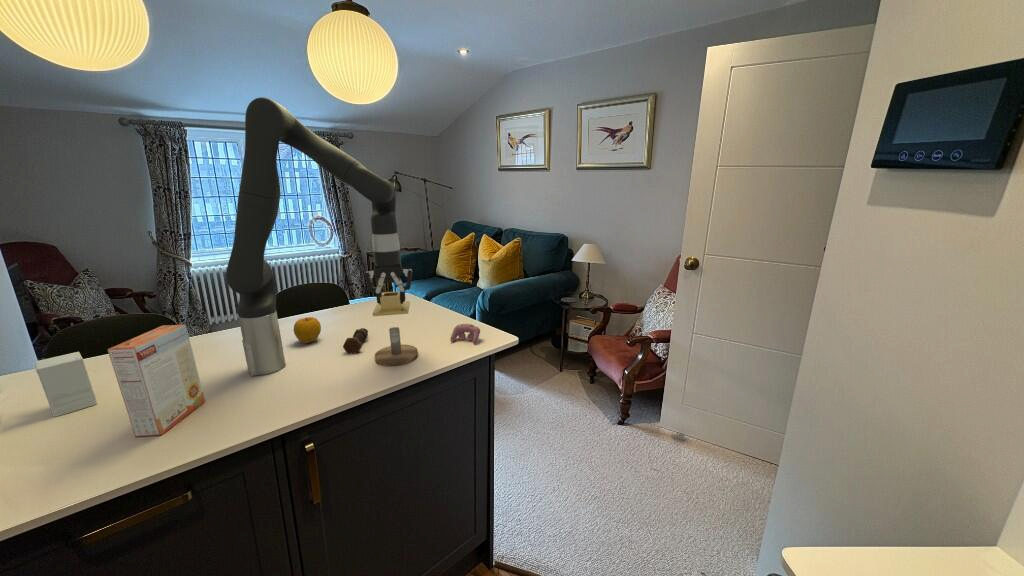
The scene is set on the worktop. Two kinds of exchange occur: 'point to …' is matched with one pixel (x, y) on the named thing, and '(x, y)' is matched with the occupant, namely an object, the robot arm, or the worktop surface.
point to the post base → (398, 358)
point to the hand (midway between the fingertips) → (391, 303)
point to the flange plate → (391, 305)
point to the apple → (307, 329)
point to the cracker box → (157, 379)
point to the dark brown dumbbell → (355, 341)
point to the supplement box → (66, 383)
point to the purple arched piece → (468, 328)
